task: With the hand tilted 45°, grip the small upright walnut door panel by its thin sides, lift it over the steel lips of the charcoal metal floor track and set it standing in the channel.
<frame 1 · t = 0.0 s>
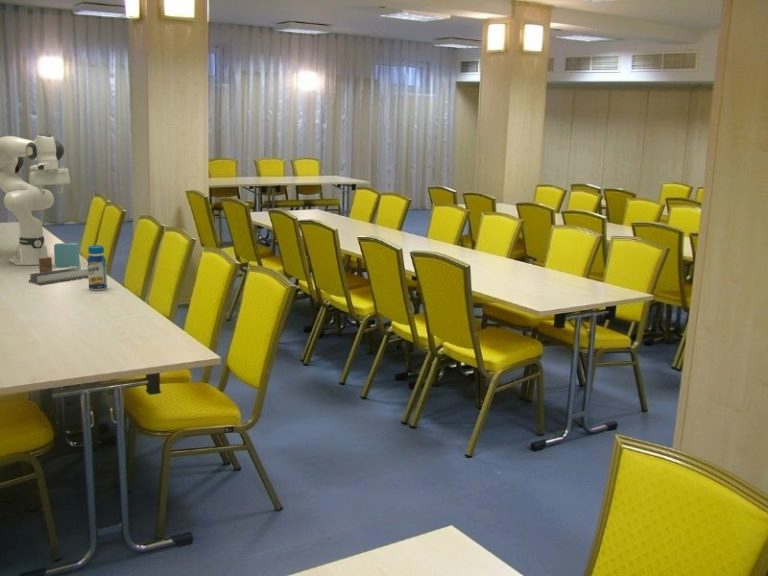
hand: (51, 193, 419), 39 cm above the table, tool pointing down, fingers open, 8 cm apart
data package: (67, 266, 436), on the table
floor track: (60, 279, 403), on the table
beverage bottle: (98, 289, 386), on the table
door panel: (46, 275, 411), on the table
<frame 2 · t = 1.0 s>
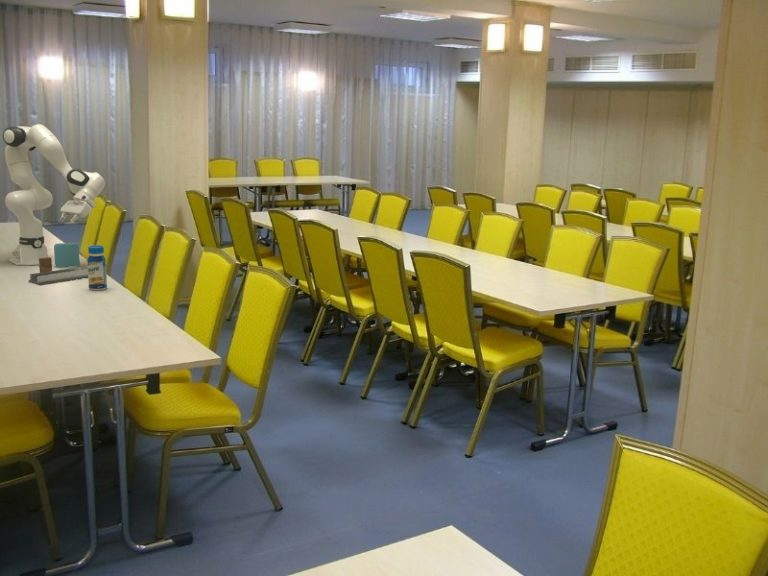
hand: (66, 221, 415), 26 cm above the table, tool tilted 45°, fingers open, 8 cm apart
nothing on the table moved.
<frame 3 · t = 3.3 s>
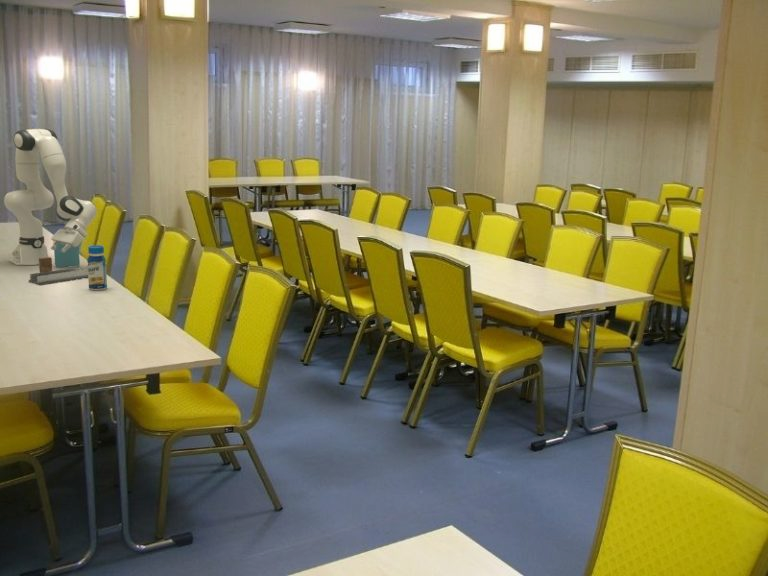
hand: (57, 250, 414), 12 cm above the table, tool tilted 45°, fingers open, 8 cm apart
nothing on the table moved.
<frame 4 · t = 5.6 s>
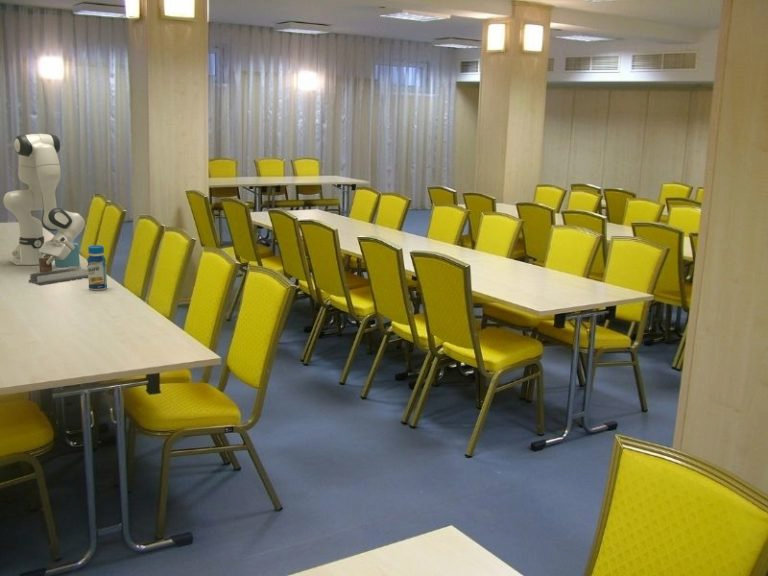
hand: (44, 263, 410), 6 cm above the table, tool tilted 45°, fingers closed on door panel, 3 cm apart
door panel: (46, 275, 411), on the table, touching gripper
everything else where it was.
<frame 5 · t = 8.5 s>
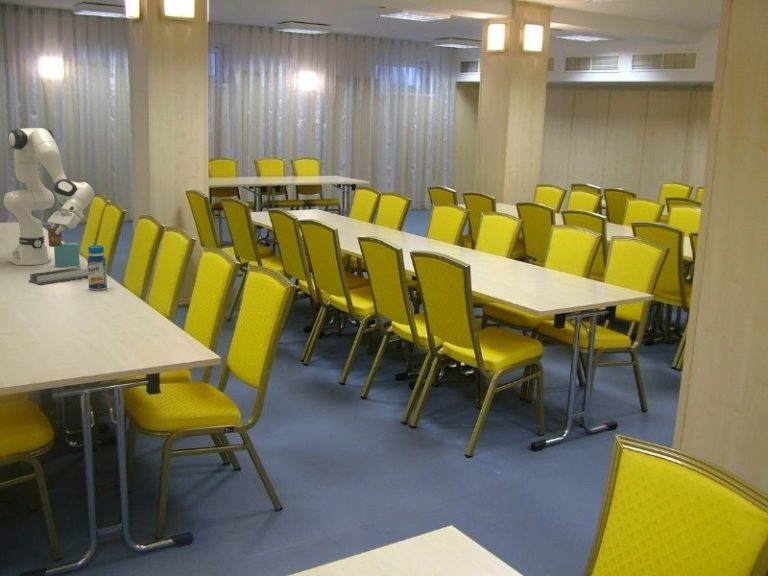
hand: (53, 233, 400), 23 cm above the table, tool tilted 45°, fingers closed on door panel, 3 cm apart
door panel: (55, 246, 401), point 16 cm above the table, touching gripper
everything else where it was.
when the fingers open (9 cm above the table, at t = 11.4 s): door panel drops 1 cm, resting on floor track.
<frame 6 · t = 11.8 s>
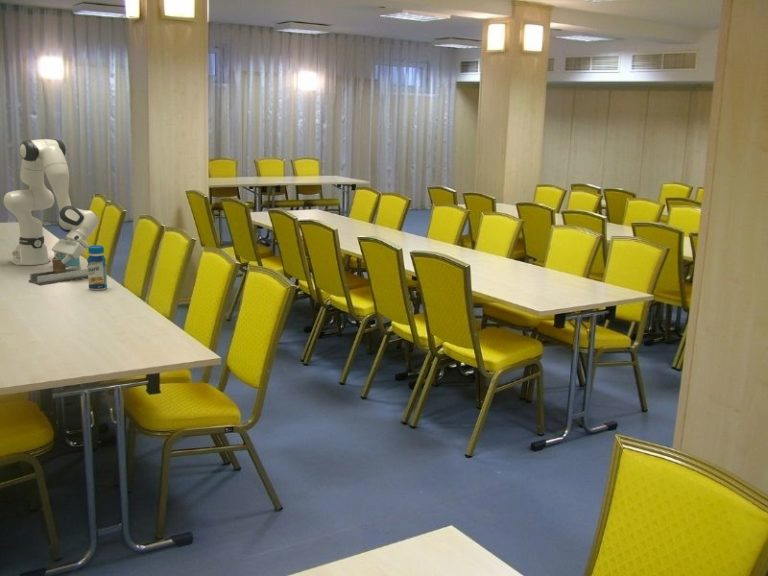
hand: (57, 261, 401), 9 cm above the table, tool tilted 45°, fingers open, 7 cm apart
door panel: (59, 277, 403), point 1 cm above the table, touching floor track
everything else where it was.
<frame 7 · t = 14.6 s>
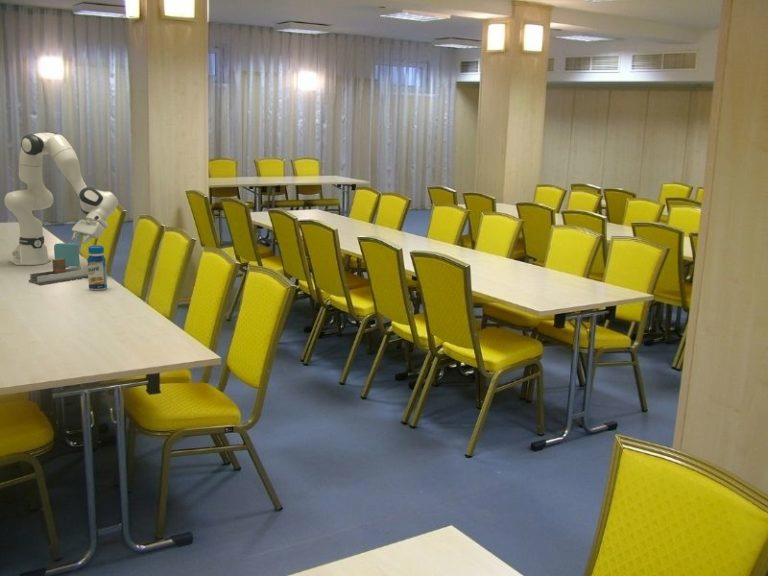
hand: (78, 241, 408), 18 cm above the table, tool tilted 45°, fingers open, 8 cm apart
nothing on the table moved.
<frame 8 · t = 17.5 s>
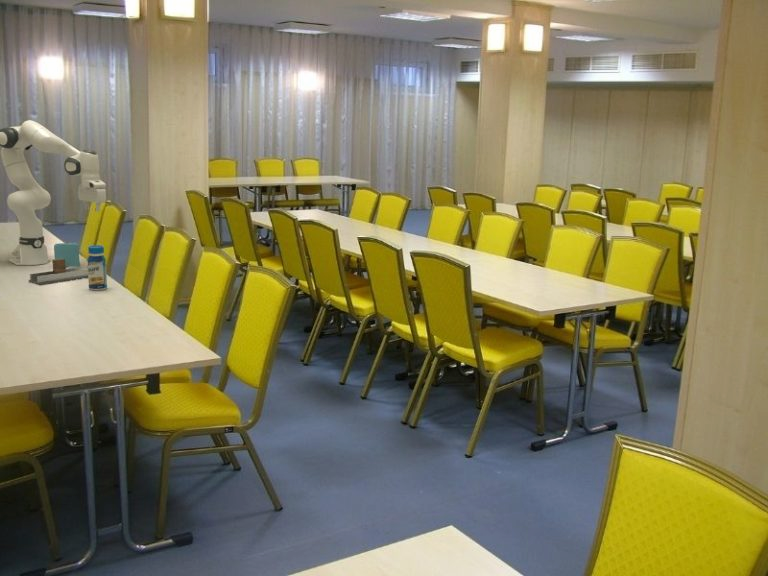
hand: (92, 210, 420), 31 cm above the table, tool pointing down, fingers open, 8 cm apart
nothing on the table moved.
at the end: door panel inside the target area on the floor track (0.1 cm from its centre), point 1.0 cm above the floor track's base; door panel tilted 0°; the gripper is holding nothing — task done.
